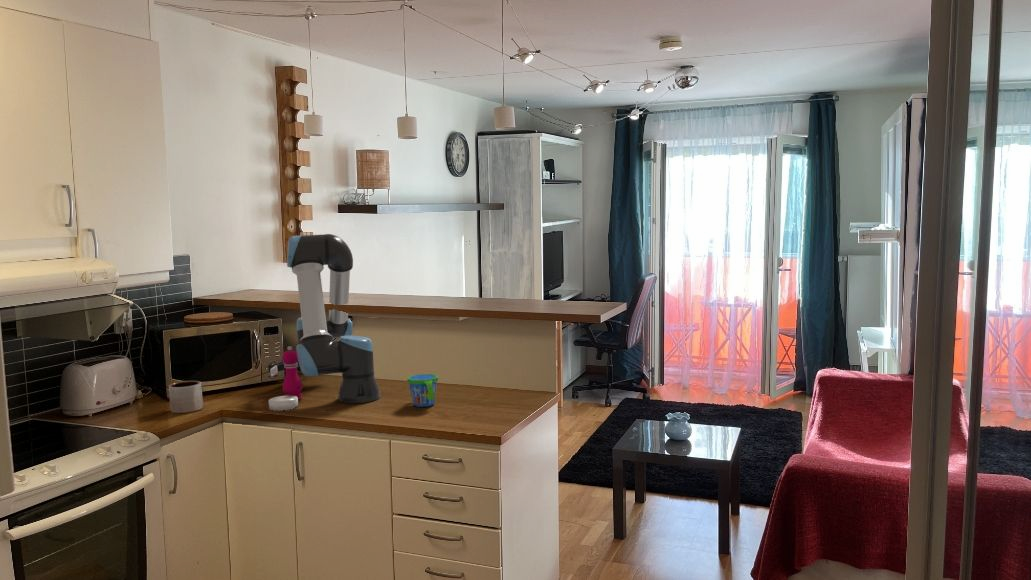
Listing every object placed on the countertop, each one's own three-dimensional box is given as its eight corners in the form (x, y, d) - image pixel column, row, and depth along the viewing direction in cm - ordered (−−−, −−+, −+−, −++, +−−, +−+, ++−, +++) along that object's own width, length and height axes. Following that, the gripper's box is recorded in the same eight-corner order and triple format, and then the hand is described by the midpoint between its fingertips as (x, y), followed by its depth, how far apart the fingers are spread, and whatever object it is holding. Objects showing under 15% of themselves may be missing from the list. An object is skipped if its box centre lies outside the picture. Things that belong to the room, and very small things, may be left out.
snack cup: (404, 401, 280) (403, 374, 279) (433, 398, 283) (431, 370, 282) (414, 412, 265) (412, 382, 264) (444, 408, 269) (442, 379, 268)
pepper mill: (300, 401, 286) (296, 347, 284) (280, 401, 286) (276, 348, 284) (305, 396, 293) (302, 344, 291) (286, 396, 293) (283, 344, 291)
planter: (163, 412, 276) (161, 386, 275) (187, 405, 286) (184, 379, 285) (187, 415, 272) (184, 388, 271) (210, 407, 282) (207, 381, 281)
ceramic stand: (304, 405, 280) (303, 396, 279) (284, 412, 271) (283, 403, 271) (283, 402, 284) (282, 394, 284) (263, 409, 276) (262, 401, 275)
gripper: (333, 368, 307) (322, 380, 285) (272, 371, 306) (256, 383, 285) (332, 349, 306) (321, 360, 285) (271, 352, 305) (254, 363, 284)
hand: (288, 372), depth 285 cm, fingers open, 12 cm apart
